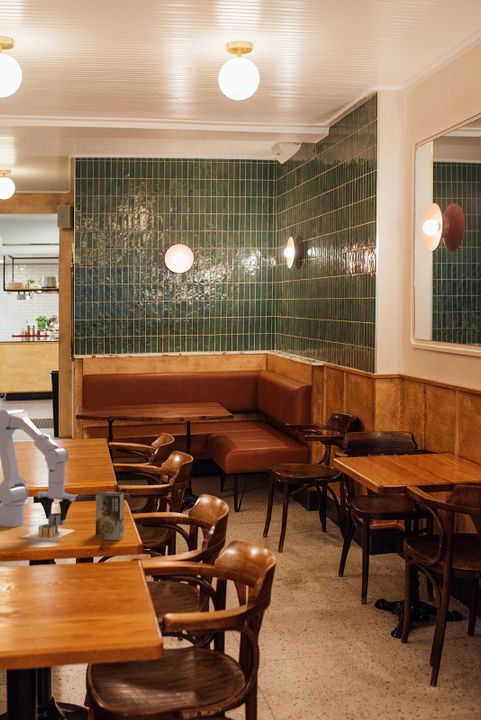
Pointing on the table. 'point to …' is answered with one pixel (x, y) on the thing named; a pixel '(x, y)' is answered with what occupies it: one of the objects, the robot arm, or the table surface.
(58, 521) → the steel gear
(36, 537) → the gear board
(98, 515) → the coffee box
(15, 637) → the table surface
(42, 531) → the brass gear
